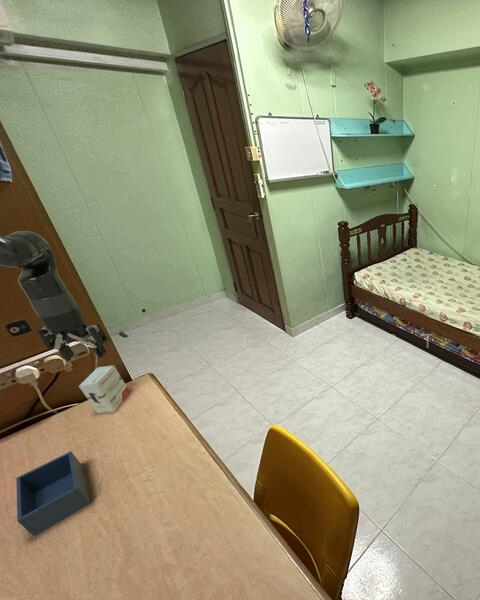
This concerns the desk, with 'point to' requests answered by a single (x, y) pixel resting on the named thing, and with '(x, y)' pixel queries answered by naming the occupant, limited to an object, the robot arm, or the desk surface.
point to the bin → (51, 493)
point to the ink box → (104, 389)
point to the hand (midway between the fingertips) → (86, 356)
